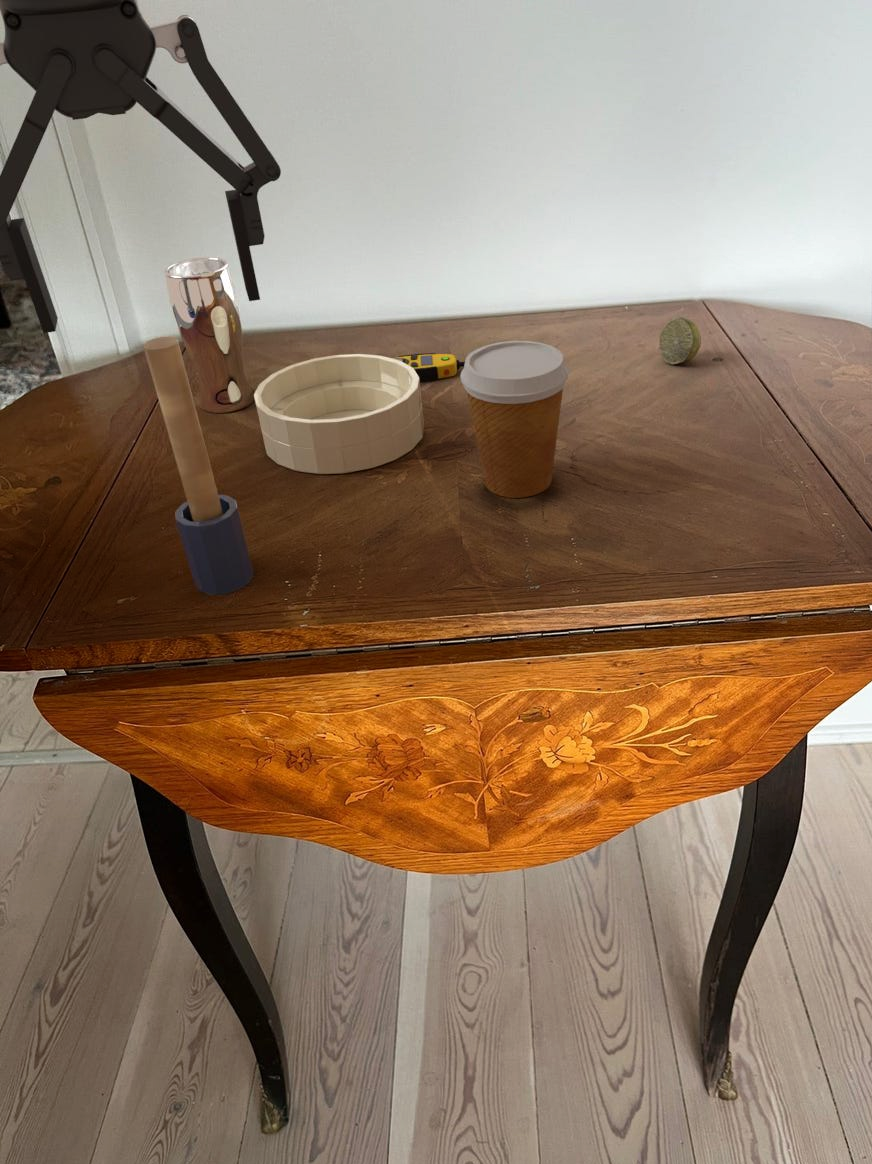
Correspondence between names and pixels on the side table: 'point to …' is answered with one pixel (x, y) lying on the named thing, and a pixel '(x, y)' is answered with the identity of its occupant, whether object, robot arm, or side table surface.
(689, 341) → the lime
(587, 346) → the side table surface
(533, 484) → the disposable coffee cup
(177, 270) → the beer glass
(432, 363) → the yellow handheld meter
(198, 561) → the holder
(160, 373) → the stick
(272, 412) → the bowl
